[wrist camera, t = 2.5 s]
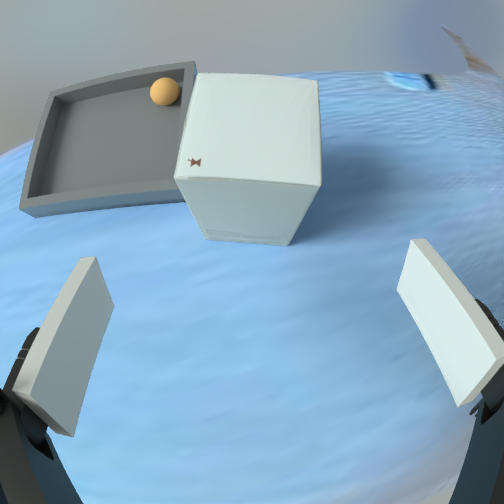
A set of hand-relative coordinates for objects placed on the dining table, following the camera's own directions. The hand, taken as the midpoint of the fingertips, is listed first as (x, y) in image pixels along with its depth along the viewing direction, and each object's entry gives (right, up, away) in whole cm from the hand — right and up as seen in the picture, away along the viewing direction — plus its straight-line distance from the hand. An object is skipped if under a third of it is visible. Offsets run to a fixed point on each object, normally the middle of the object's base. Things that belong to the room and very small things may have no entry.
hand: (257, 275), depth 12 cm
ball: (-9, +17, +16) cm, 25 cm away
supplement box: (0, +5, +15) cm, 16 cm away
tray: (-15, +12, +16) cm, 25 cm away
